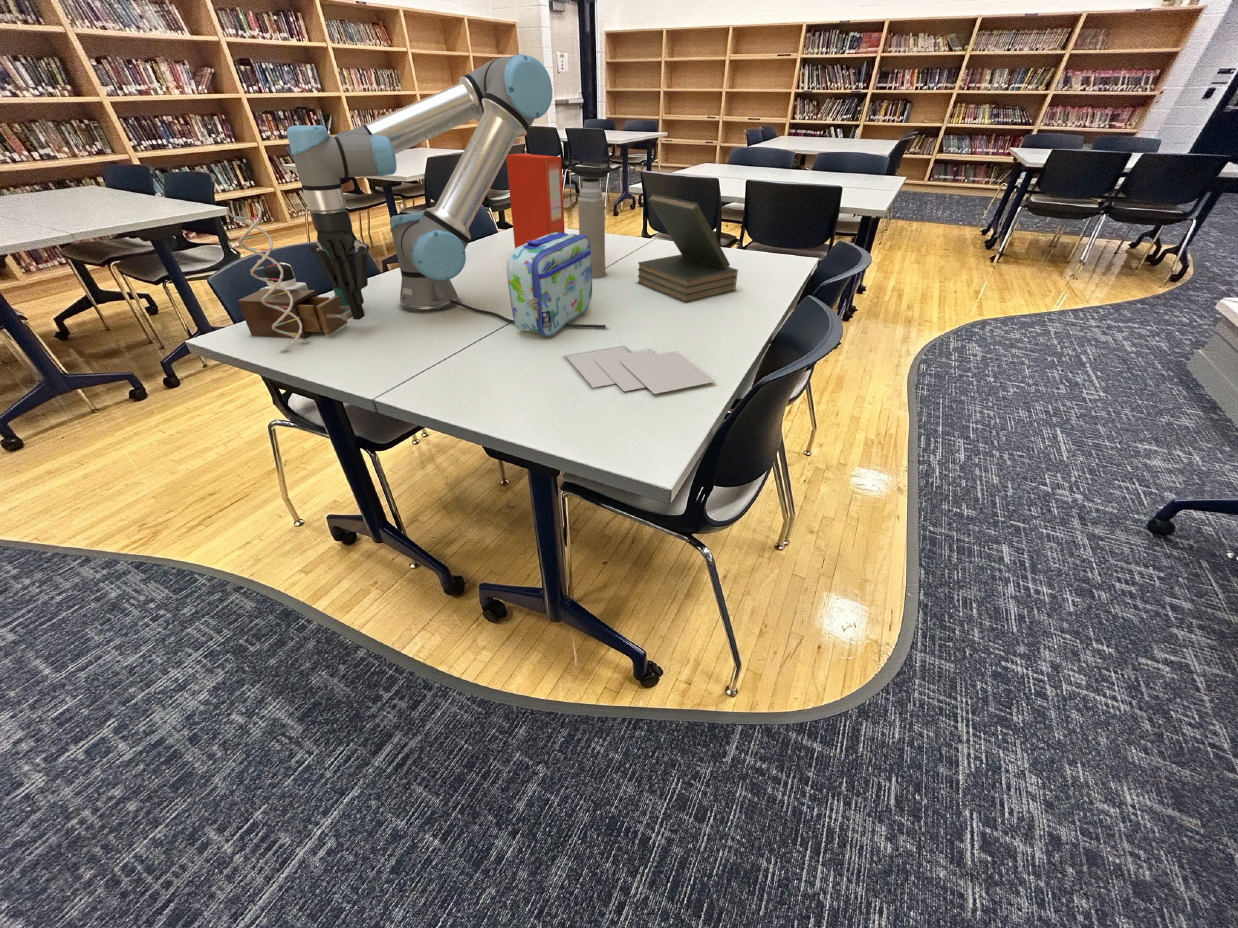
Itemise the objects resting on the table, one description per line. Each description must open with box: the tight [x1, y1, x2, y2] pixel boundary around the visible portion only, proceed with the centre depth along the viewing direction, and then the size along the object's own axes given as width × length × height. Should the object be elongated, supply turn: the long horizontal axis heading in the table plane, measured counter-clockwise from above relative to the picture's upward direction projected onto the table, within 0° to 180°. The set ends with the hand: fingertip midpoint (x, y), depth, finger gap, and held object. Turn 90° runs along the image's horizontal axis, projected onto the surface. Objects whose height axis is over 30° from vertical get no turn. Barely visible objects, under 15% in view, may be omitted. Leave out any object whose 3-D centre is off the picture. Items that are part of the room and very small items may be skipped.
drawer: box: [295, 294, 353, 336], centre depth 128 cm, size 18×8×7 cm, turn 84°
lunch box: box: [506, 232, 593, 338], centre depth 130 cm, size 26×11×21 cm, turn 154°
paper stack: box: [565, 346, 717, 395], centre depth 112 cm, size 23×25×1 cm
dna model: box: [225, 202, 307, 353], centre depth 114 cm, size 7×6×30 cm
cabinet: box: [237, 287, 319, 339], centre depth 129 cm, size 14×10×9 cm
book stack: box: [637, 193, 739, 304], centre depth 154 cm, size 23×20×25 cm
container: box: [259, 262, 309, 290], centre depth 136 cm, size 8×8×13 cm
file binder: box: [505, 153, 566, 249], centre depth 178 cm, size 8×17×32 cm, turn 51°
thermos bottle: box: [577, 176, 606, 279], centre depth 164 cm, size 8×8×28 cm
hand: (359, 317), depth 127 cm, fingers closed
